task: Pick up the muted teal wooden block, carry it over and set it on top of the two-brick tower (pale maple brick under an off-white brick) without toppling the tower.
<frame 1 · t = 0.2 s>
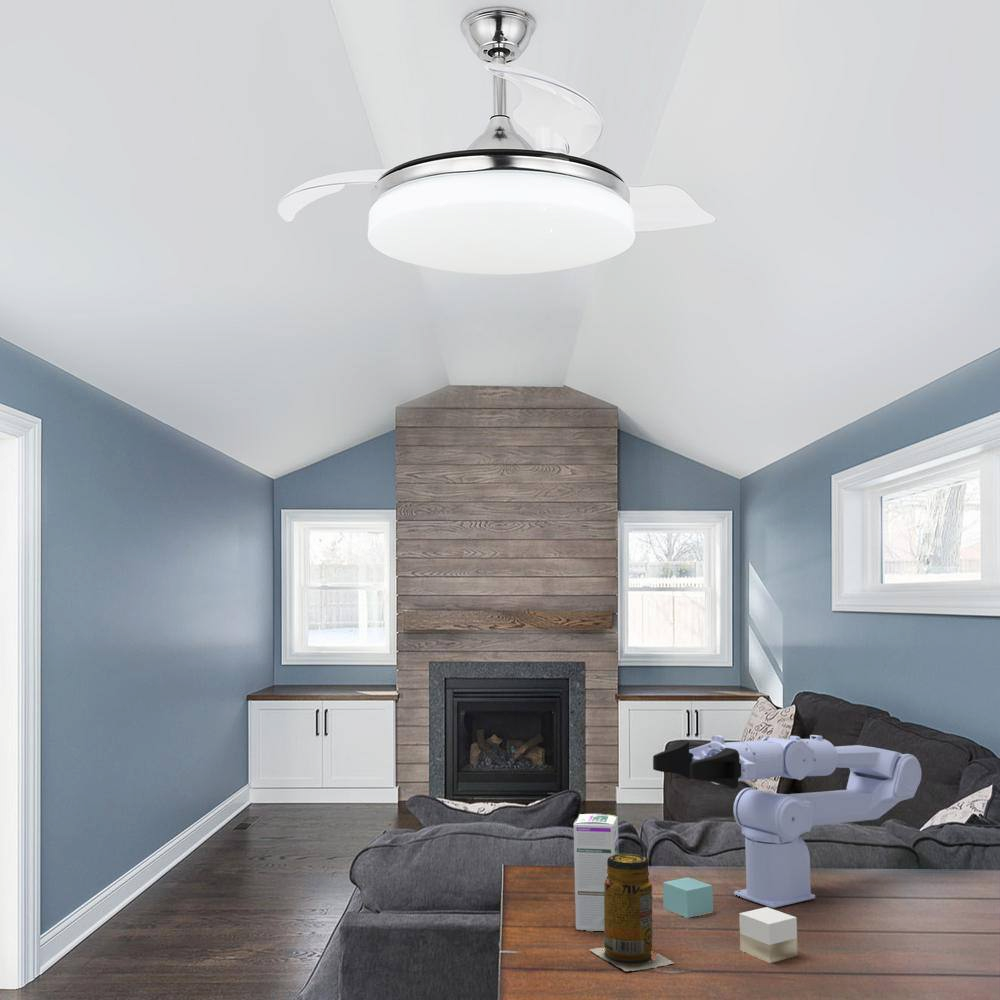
hand: (672, 766, 140), 21 cm above the table, tool horizontal, fingers open, 7 cm apart
white brick: (768, 935, 125), point 2 cm above the table, touching maple brick
condiment: (631, 959, 123), on the table
maple brick: (768, 955, 125), on the table, touching white brick
teal brick: (688, 912, 142), on the table
syrup box: (597, 926, 135), on the table
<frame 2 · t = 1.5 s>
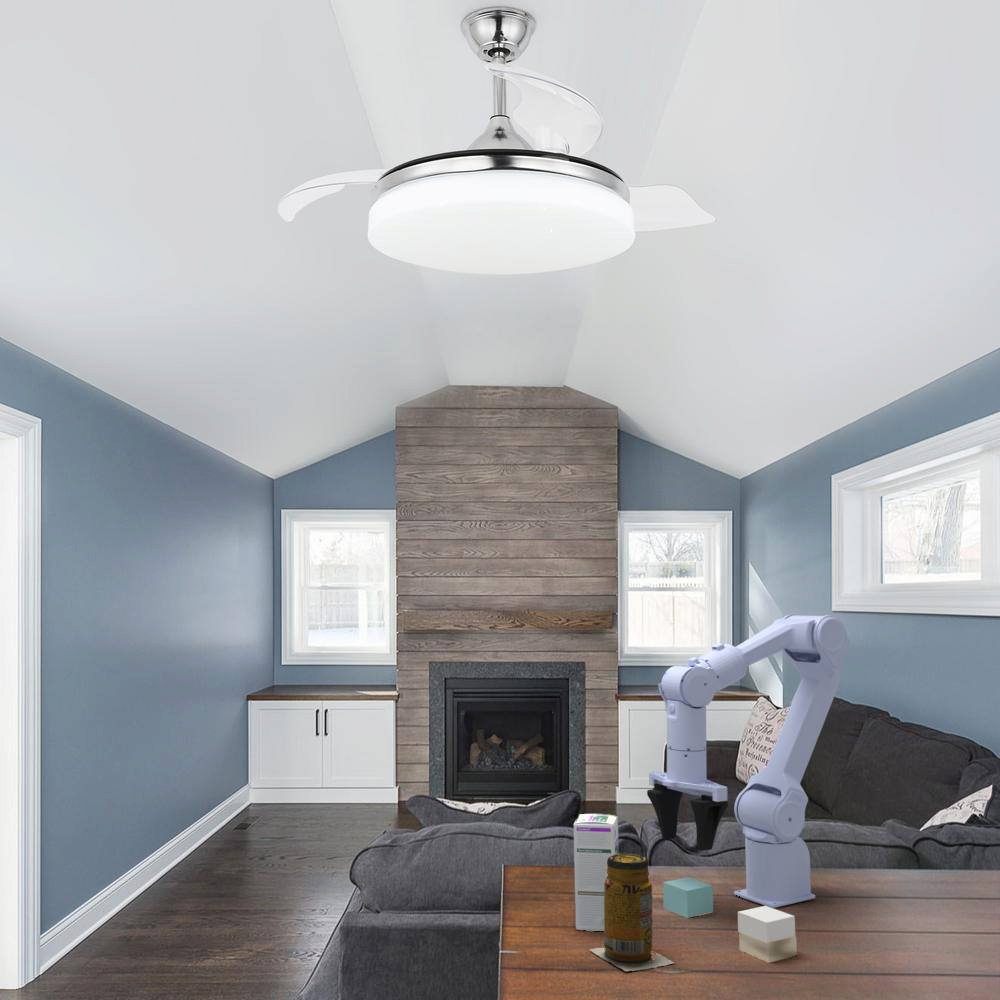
hand: (686, 843, 143), 9 cm above the table, tool pointing down, fingers open, 7 cm apart
nothing on the table moved.
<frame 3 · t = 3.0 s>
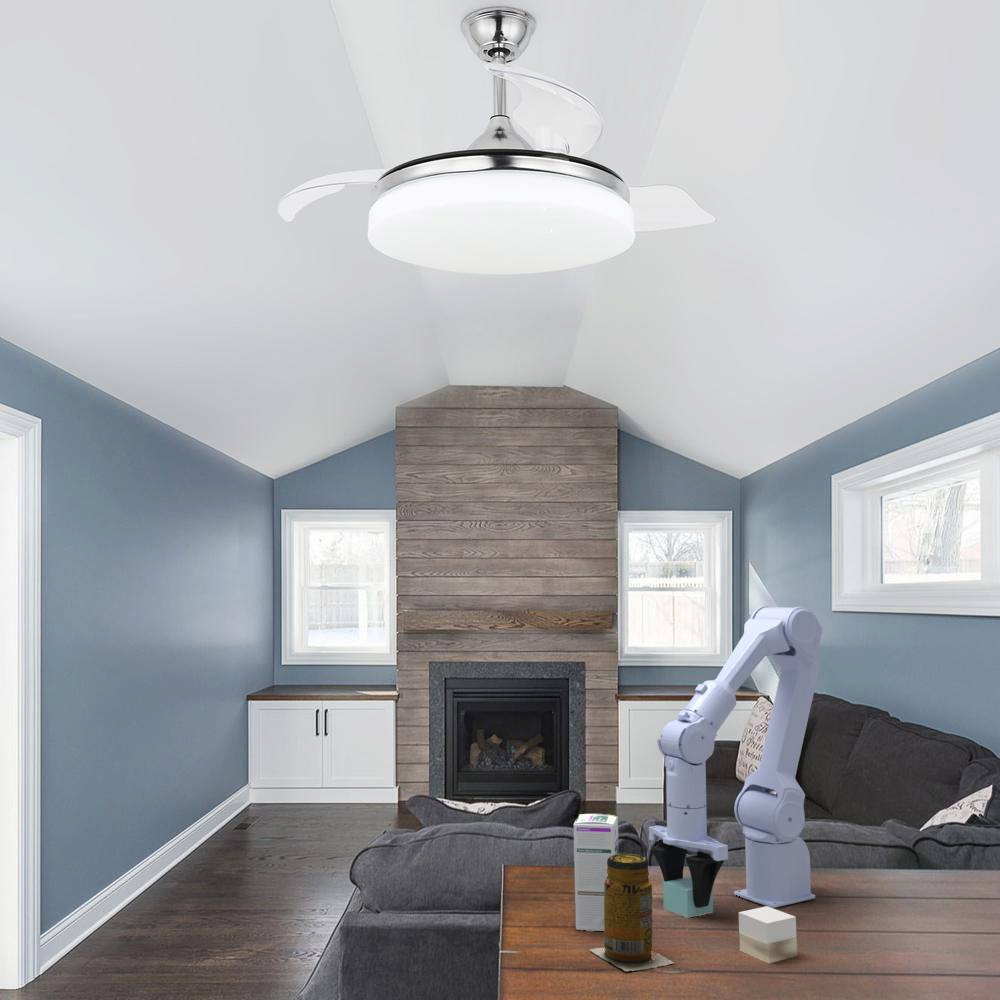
hand: (688, 901, 142), 1 cm above the table, tool pointing down, fingers closed on teal brick, 5 cm apart
teal brick: (688, 912, 142), on the table, touching gripper
everything else where it was.
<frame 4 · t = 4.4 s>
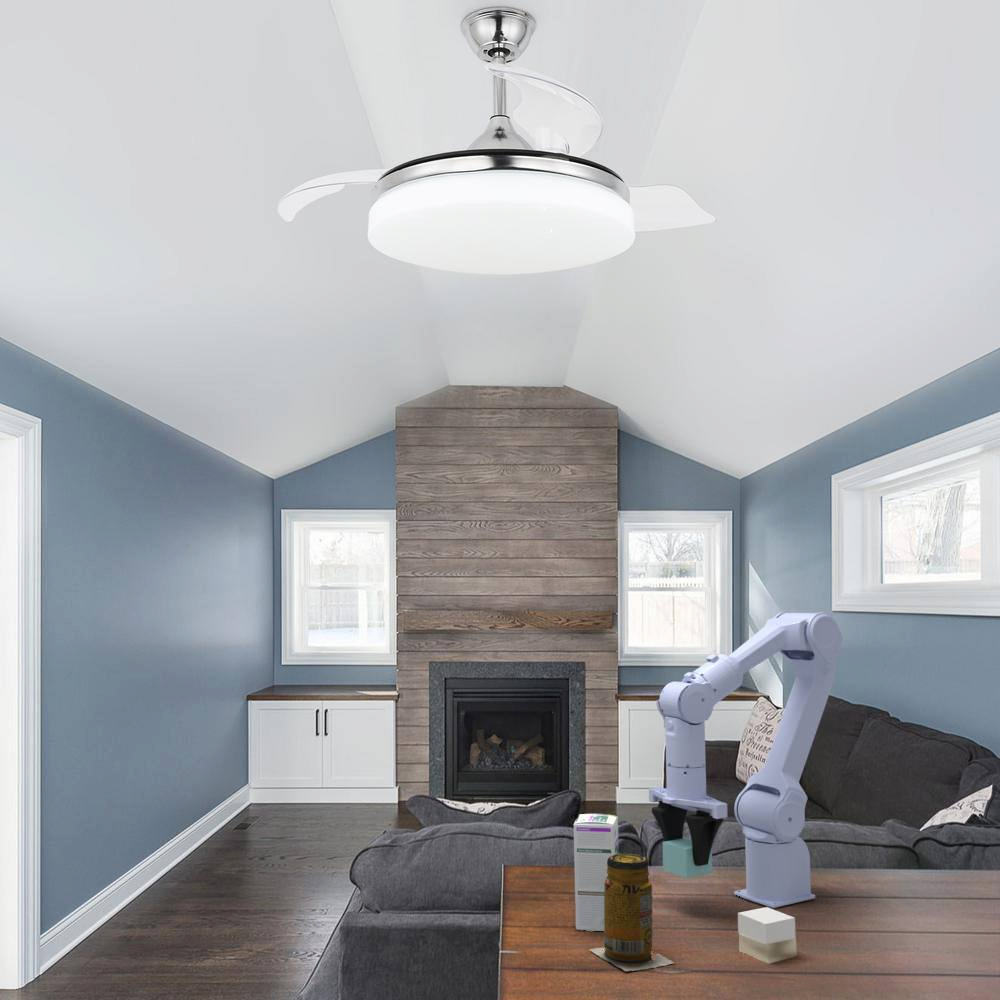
hand: (687, 860, 143), 7 cm above the table, tool pointing down, fingers closed on teal brick, 5 cm apart
teal brick: (687, 871, 142), point 6 cm above the table, touching gripper
everything else where it was.
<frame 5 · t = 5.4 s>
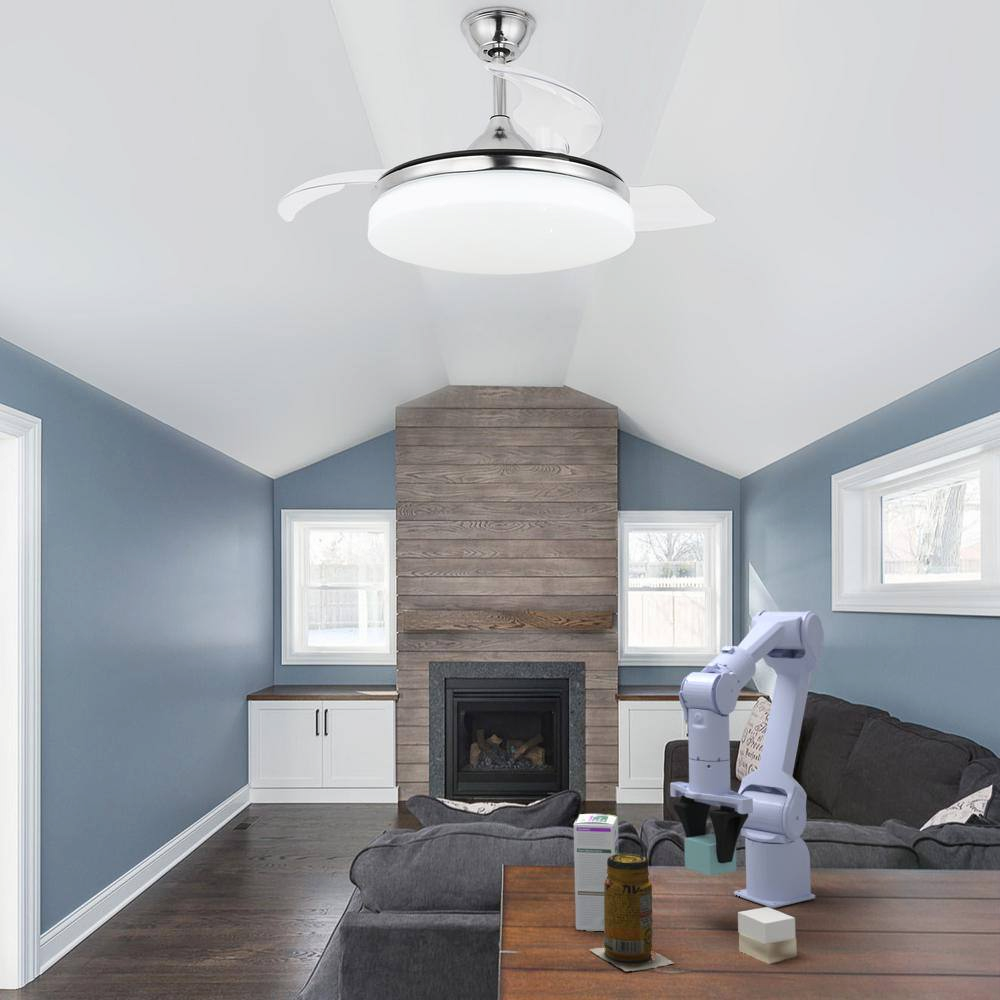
hand: (711, 857, 137), 9 cm above the table, tool pointing down, fingers closed on teal brick, 5 cm apart
white brick: (766, 935, 125), point 2 cm above the table
maple brick: (767, 956, 125), on the table
teal brick: (710, 869, 137), point 7 cm above the table, touching gripper
everything else where it was.
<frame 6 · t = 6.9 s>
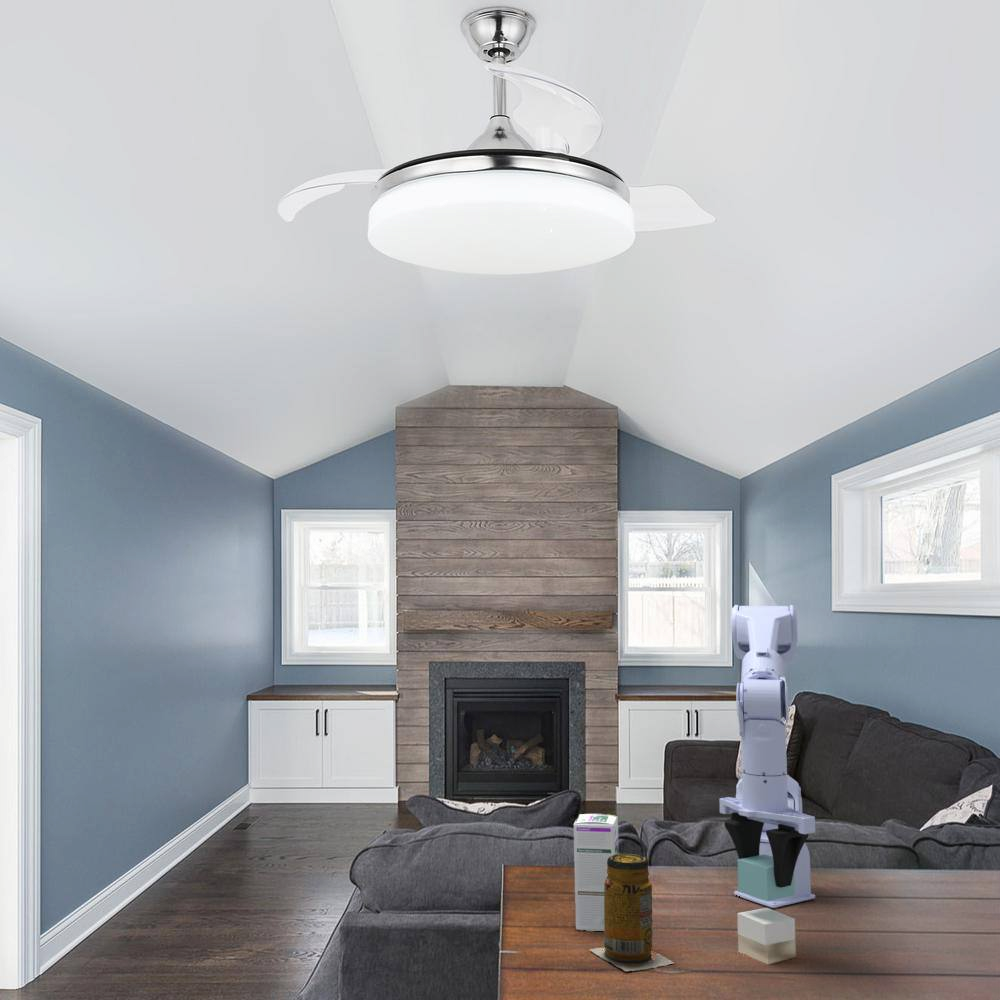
hand: (766, 880, 126), 9 cm above the table, tool pointing down, fingers closed on teal brick, 5 cm apart
white brick: (766, 936, 125), point 2 cm above the table, touching maple brick
maple brick: (766, 956, 124), on the table, touching white brick
teal brick: (766, 893, 126), point 7 cm above the table, touching gripper
everything else where it was.
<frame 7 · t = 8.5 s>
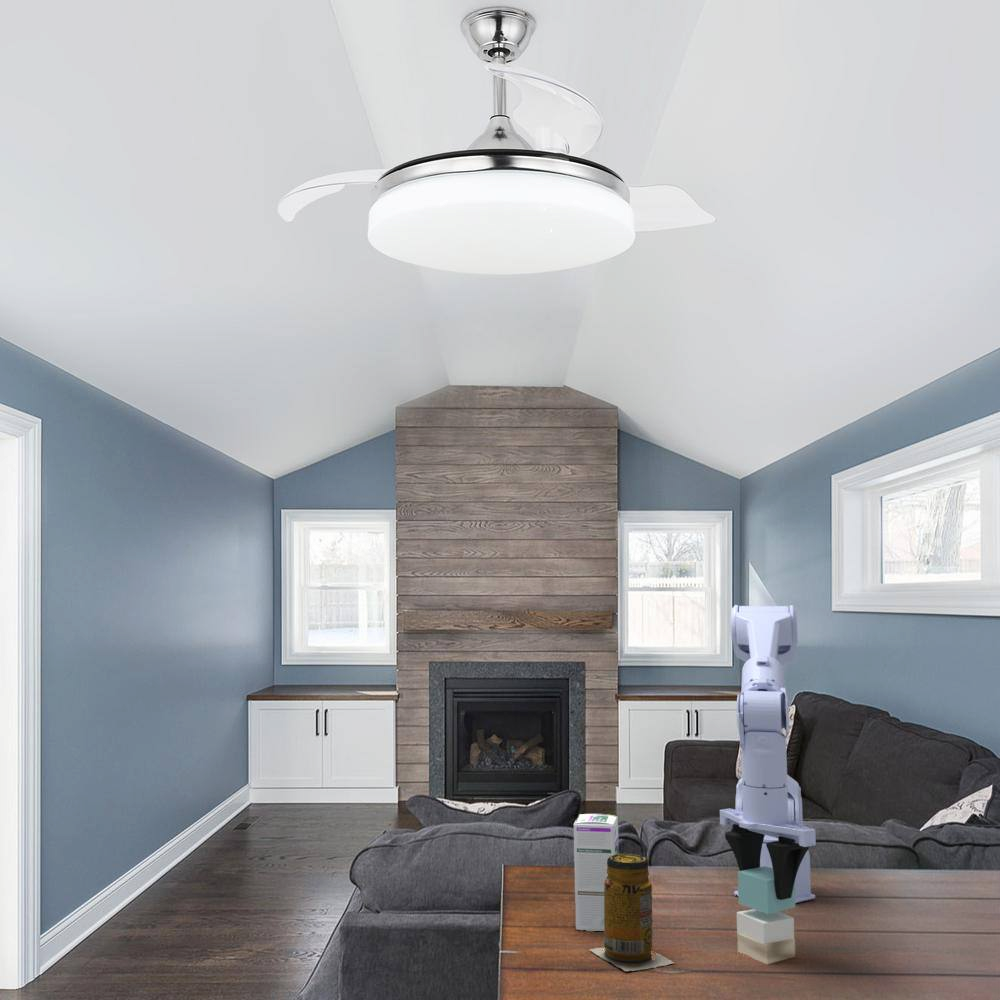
hand: (767, 892, 126), 7 cm above the table, tool pointing down, fingers closed on teal brick, 5 cm apart
teal brick: (766, 905, 126), point 6 cm above the table, touching gripper
everything else where it was.
when the fingers open (7 cm above the table, at t = 8.6 s): teal brick drops 1 cm, resting on white brick.
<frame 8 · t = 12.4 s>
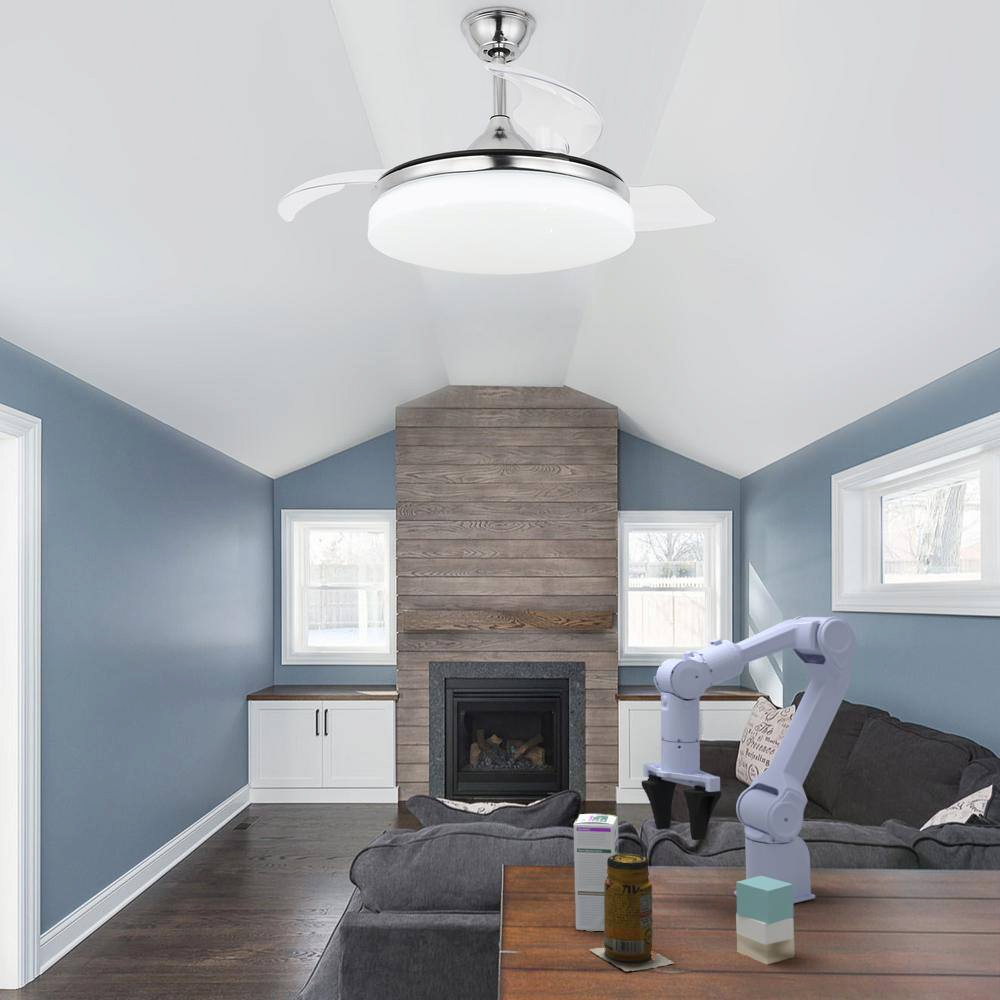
hand: (680, 833, 145), 10 cm above the table, tool pointing down, fingers open, 7 cm apart
white brick: (765, 935, 125), point 2 cm above the table, touching maple brick, teal brick
teal brick: (765, 915, 125), point 5 cm above the table, touching white brick
everything else where it was.
at the end: teal brick 0.0 cm off-centre on the maple brick, point 5.0 cm above the maple brick's base; white brick tilted 0°; maple brick moved 0.8 cm from its start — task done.
